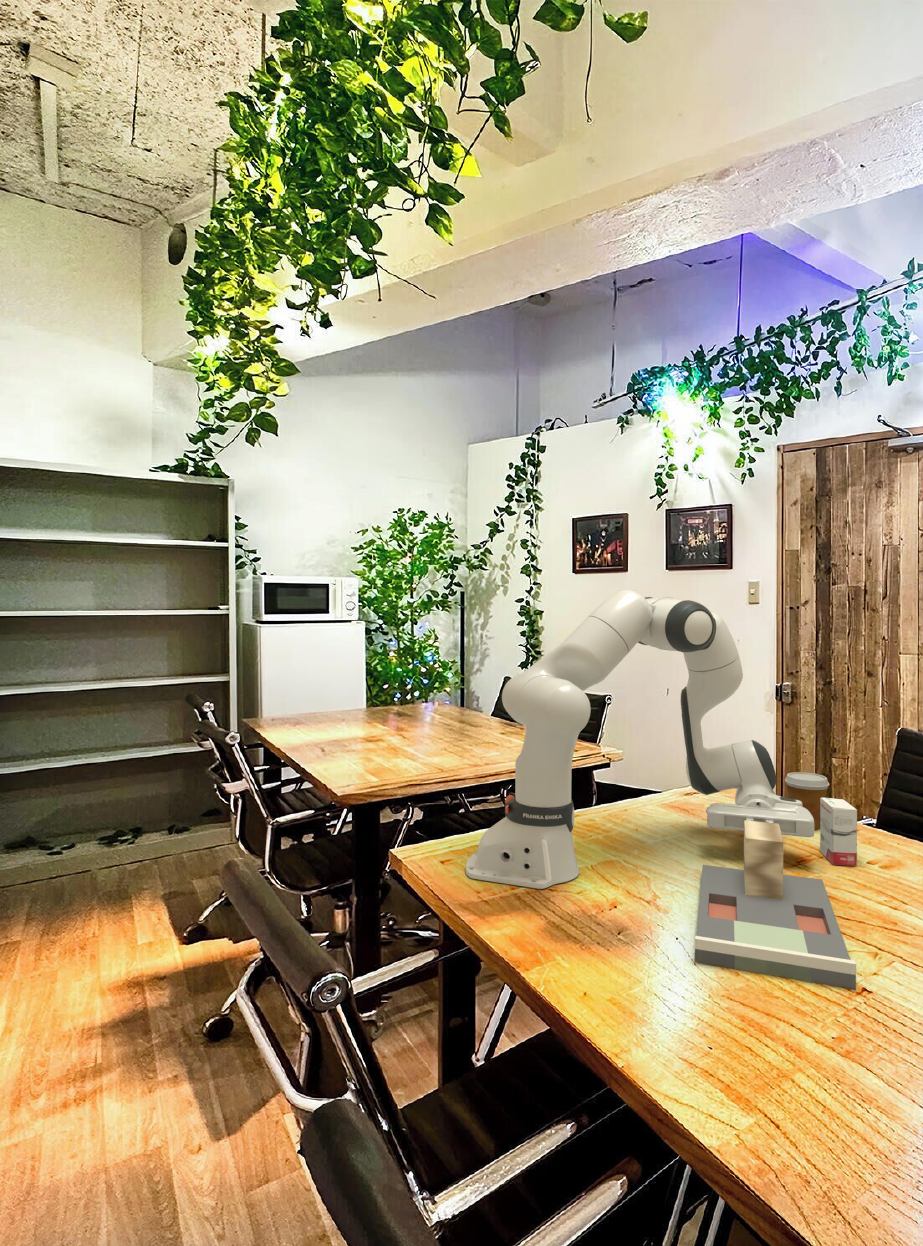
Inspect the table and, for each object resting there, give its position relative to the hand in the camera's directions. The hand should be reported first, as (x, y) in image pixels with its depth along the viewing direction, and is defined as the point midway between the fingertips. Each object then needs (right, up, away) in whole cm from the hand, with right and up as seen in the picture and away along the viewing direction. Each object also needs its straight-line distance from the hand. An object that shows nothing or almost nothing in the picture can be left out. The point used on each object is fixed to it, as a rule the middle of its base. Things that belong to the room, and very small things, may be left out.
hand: (760, 831), depth 137 cm
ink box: (+20, -9, +9) cm, 23 cm away
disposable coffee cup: (+24, -8, +30) cm, 39 cm away
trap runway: (-8, -9, -20) cm, 24 cm away
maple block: (-4, -7, -10) cm, 13 cm away
